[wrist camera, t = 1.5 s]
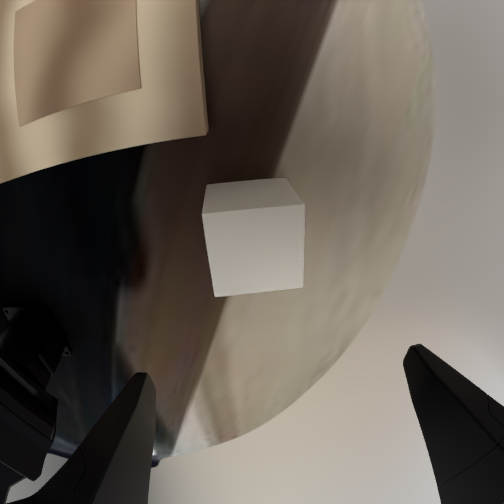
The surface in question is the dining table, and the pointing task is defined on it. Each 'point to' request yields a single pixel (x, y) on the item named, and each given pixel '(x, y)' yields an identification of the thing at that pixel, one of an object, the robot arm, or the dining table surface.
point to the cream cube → (254, 236)
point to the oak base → (96, 78)
